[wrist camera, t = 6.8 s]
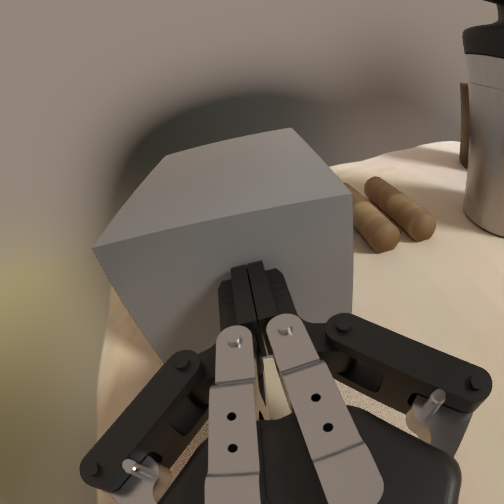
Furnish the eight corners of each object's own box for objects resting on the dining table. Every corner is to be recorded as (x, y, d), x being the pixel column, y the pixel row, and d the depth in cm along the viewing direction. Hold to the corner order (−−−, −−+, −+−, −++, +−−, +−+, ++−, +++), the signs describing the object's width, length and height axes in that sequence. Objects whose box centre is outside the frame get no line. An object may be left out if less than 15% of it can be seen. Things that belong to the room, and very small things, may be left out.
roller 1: (335, 210, 32) (355, 199, 31) (376, 259, 23) (402, 244, 23) (326, 189, 30) (348, 178, 30) (369, 235, 22) (397, 219, 21)
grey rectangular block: (305, 221, 30) (291, 127, 24) (349, 342, 17) (352, 193, 11) (194, 242, 31) (165, 155, 25) (168, 369, 18) (91, 248, 12)
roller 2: (361, 197, 31) (380, 200, 32) (408, 242, 23) (429, 243, 23) (367, 175, 30) (386, 178, 30) (419, 213, 21) (439, 217, 22)
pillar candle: (493, 182, 29) (498, 82, 21) (448, 160, 37) (447, 72, 29) (516, 174, 30) (521, 88, 22) (476, 155, 38) (476, 77, 30)
